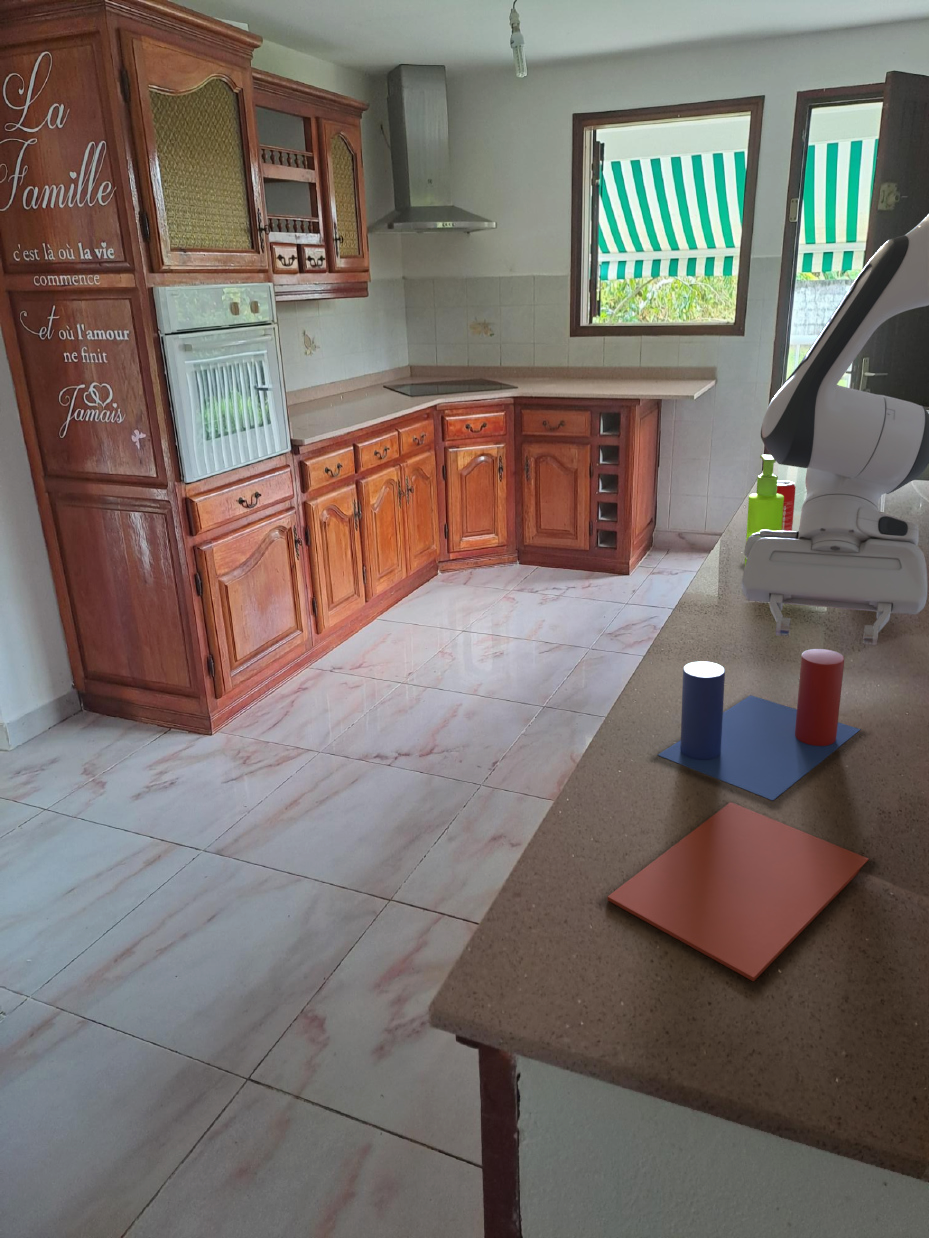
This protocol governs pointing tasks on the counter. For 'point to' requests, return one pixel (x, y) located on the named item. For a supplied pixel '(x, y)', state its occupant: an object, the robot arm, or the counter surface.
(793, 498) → the beverage can
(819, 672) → the red cylinder
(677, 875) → the terracotta mat
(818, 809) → the counter surface
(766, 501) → the soap dispenser
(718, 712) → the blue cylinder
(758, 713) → the blue mat
